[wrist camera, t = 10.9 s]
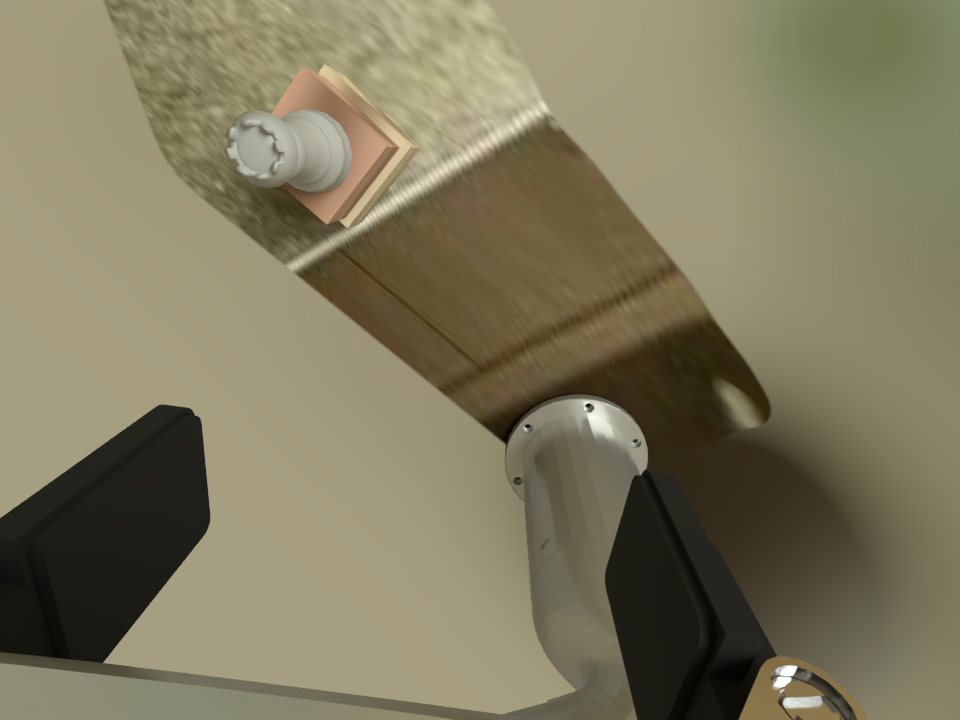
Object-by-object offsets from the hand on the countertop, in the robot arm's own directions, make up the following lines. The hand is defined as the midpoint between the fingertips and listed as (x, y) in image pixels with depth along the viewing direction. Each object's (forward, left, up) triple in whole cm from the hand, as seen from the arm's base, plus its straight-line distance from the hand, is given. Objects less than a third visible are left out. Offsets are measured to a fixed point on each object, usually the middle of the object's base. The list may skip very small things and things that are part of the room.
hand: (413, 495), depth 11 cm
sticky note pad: (+6, +10, -30) cm, 32 cm away
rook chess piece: (+6, +10, -22) cm, 25 cm away
